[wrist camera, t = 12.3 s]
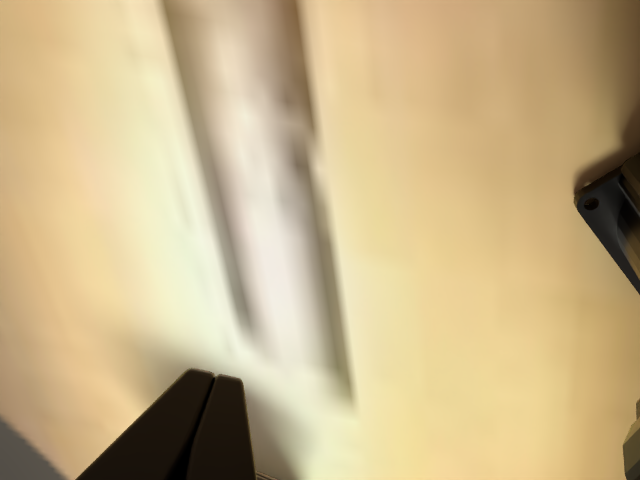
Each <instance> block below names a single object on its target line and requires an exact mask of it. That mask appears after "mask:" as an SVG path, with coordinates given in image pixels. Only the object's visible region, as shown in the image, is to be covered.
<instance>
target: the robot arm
mask: <svg viewBox="0 0 640 480" xmlns="http://www.w3.org/2000/svg"><path fill="white" fill-rule="evenodd" d="M590 198H596V199H595V201H594V202H593V203H592V204H589V205H585V204H584V203H585V201H587V200H588V199H590ZM574 204H575V206H576V208H577V210H578V212H579V213H580V215H581V216H582V217H583V219H584V220H585V221H586V223H587V224H588V225H589V227H590V228H591V230H592V231H593V232H594V234H595V235H596V236H597V238H598V239H599V240H600V242H601V243H602V244H603V246H604V247H605V248H606V250H607V251H608V252H609V254H610V255H611V257H612V258H613V259H614V261H615V262H616V263H617V265H618V266H619V267H620V269H621V270H622V271H623V273H624V274H625V275H626V277H627V278H628V279H629V281H630V282H631V284H632V285H633V286H634V288H635V289H636V290H637V292H638V293H639V294H640V153H639V154H637V155H636V156H634V157H632V158H630V159H629V160H627V161H625V163H624V164H623V165H622V166H620V167H618V168H617V169H615V170H613V171H612V172H610V173H608V174H606V175H605V176H603V177H601V178H600V179H598V180H596V181H594V182H593V183H591V184H589V185H588V186H586V187H584V188H582V189H581V190H580V191H578V192H577V193H576V195H575V197H574ZM636 414H637V420H636V421H635V423H634V424H633V425H632V426H631V428H630V430H629V432H628V435H627V437H626V439H625V441H624V444H623V455H624V468H625V476H626V479H627V480H640V399H639V400H638V401H637V403H636ZM76 480H257V475H256V468H255V461H254V454H253V448H252V441H251V434H250V427H249V420H248V413H247V406H246V399H245V392H244V385H243V382H242V380H241V379H240V378H236V377H231V376H227V375H222V374H219V375H217V376H216V377H215V375H214V373H212V372H209V371H204V370H200V369H195V368H190V369H188V370H187V371H185V372H184V373H183V374H182V375H181V376H180V377H179V378H178V379H177V380H176V381H175V382H174V383H173V384H172V385H171V386H170V387H169V388H168V389H167V390H166V391H165V392H164V393H163V394H162V395H161V396H160V397H159V398H158V399H157V400H156V401H155V402H154V403H153V404H152V405H151V406H150V407H149V408H148V409H147V410H146V411H145V412H144V413H143V414H142V415H141V416H140V417H139V418H138V419H136V420H135V421H134V422H133V423H132V424H131V425H130V426H129V427H128V428H127V429H126V430H125V431H124V432H123V433H122V434H121V435H120V436H119V437H118V438H117V439H116V440H115V441H114V442H113V443H112V444H111V445H110V446H109V447H108V448H107V449H106V450H105V451H104V452H103V453H102V454H101V455H100V456H99V457H98V458H97V459H96V460H95V461H94V462H93V463H92V464H91V465H90V466H89V467H88V468H87V469H86V470H85V471H84V472H83V473H82V474H81V475H80V476H79V477H78V478H77V479H76Z"/></svg>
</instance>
